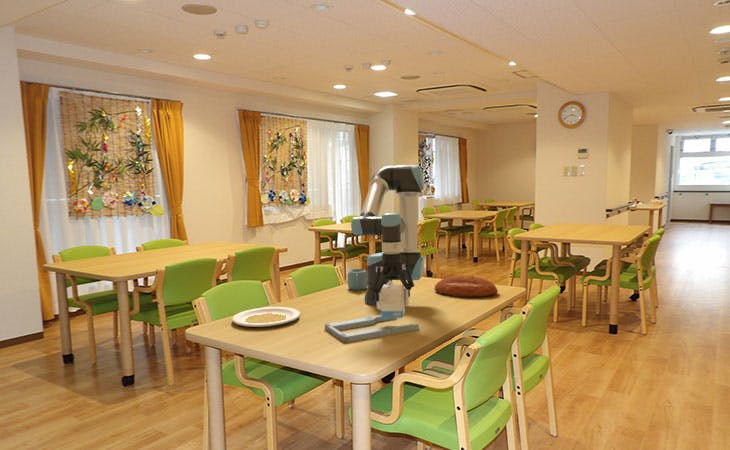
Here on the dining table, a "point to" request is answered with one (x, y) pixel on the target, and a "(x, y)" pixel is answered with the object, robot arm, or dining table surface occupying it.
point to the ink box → (392, 301)
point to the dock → (365, 334)
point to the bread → (465, 286)
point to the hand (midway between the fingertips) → (392, 307)
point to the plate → (289, 312)
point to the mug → (357, 279)
